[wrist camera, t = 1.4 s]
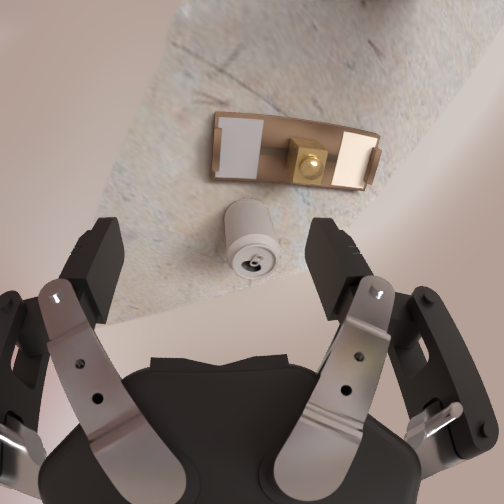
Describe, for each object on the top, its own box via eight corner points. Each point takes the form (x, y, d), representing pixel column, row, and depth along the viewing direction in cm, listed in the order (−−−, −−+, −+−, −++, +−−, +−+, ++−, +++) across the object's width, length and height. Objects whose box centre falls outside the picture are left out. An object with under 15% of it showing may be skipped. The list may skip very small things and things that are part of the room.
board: (215, 111, 35) (215, 115, 33) (375, 133, 39) (385, 139, 36) (211, 175, 41) (211, 184, 39) (360, 187, 45) (368, 195, 43)
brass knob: (290, 137, 37) (301, 149, 32) (317, 140, 37) (331, 153, 33) (285, 169, 40) (294, 185, 35) (310, 171, 40) (322, 188, 36)
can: (216, 225, 47) (217, 275, 38) (236, 188, 43) (243, 233, 34) (255, 239, 50) (265, 289, 41) (277, 206, 46) (294, 252, 37)
